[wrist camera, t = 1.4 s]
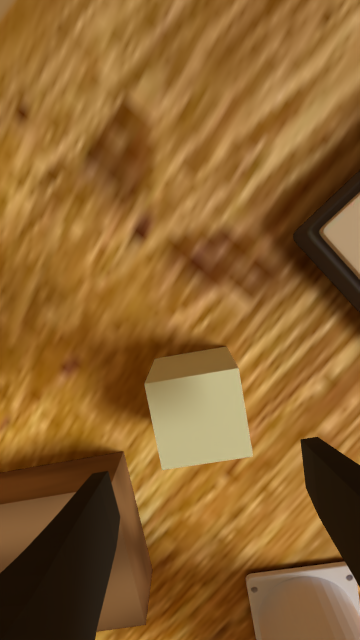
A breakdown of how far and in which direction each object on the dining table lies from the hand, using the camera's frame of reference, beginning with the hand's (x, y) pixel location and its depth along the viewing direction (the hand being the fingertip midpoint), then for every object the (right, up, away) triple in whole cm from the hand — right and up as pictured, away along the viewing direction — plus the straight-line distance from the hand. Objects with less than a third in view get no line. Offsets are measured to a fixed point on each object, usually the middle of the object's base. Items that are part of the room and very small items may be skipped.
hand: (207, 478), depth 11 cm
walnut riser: (-9, -10, +12) cm, 18 cm away
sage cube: (0, +1, +10) cm, 10 cm away
